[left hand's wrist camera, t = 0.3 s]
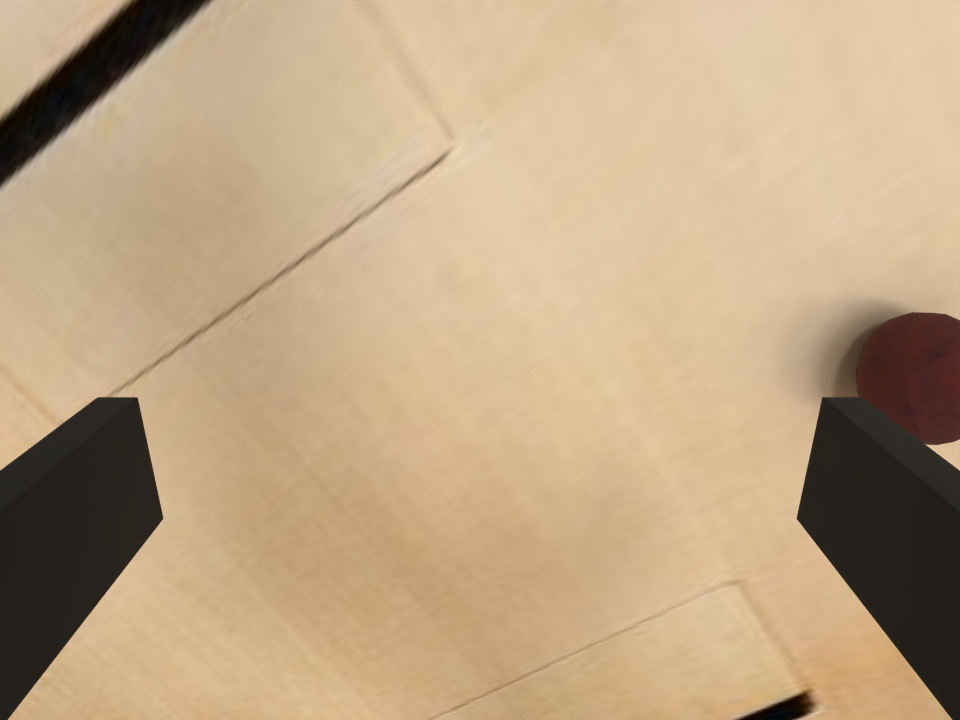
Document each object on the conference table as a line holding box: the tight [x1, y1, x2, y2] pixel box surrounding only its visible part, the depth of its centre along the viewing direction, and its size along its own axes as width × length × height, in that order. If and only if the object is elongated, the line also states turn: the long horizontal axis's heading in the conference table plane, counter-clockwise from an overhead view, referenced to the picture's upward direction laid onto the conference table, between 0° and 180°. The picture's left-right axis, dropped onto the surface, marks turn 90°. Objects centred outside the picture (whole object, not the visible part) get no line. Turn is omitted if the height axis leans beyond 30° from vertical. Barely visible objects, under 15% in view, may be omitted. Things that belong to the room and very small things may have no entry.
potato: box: [856, 312, 960, 445], centre depth 38 cm, size 7×8×7 cm
